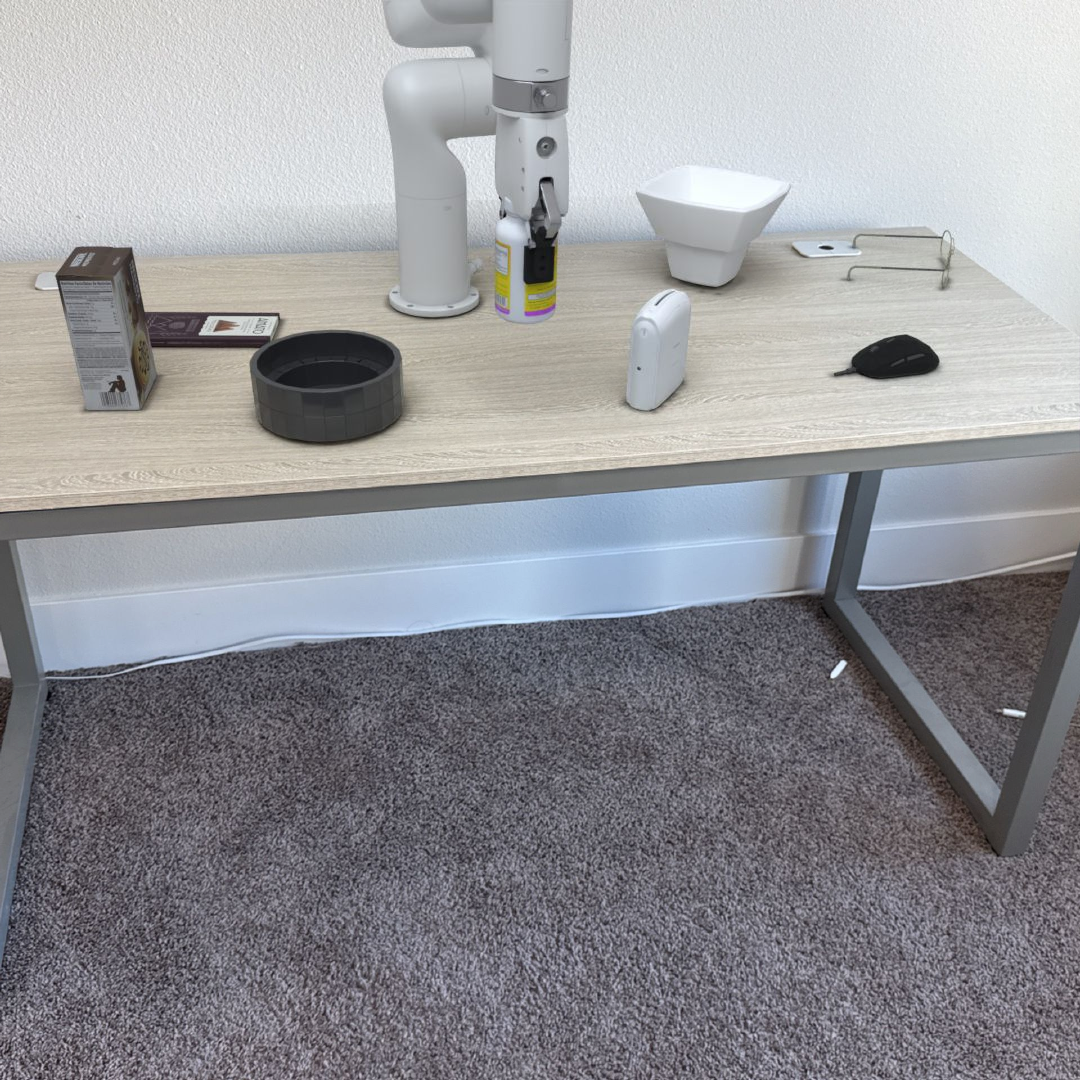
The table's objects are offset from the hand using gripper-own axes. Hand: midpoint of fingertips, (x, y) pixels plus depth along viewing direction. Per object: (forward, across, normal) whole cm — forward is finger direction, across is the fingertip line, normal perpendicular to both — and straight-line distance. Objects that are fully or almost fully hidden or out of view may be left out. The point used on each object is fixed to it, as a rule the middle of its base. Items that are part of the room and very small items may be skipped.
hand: (525, 268), depth 116 cm
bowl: (+18, +32, -41) cm, 55 cm away
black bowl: (+17, +7, +21) cm, 28 cm away
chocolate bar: (+18, +34, +32) cm, 50 cm away
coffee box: (+18, +19, +43) cm, 50 cm away
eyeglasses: (+18, +27, -72) cm, 79 cm away
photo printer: (+17, -1, -17) cm, 24 cm away
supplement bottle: (+5, 0, 0) cm, 5 cm away
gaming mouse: (+17, -4, -48) cm, 51 cm away
